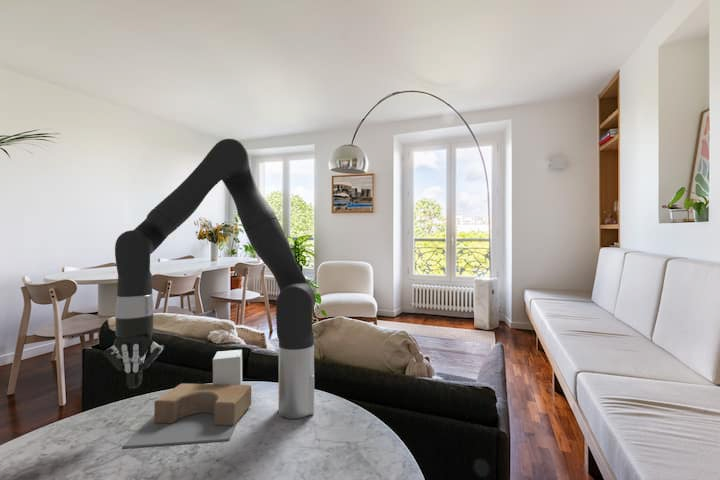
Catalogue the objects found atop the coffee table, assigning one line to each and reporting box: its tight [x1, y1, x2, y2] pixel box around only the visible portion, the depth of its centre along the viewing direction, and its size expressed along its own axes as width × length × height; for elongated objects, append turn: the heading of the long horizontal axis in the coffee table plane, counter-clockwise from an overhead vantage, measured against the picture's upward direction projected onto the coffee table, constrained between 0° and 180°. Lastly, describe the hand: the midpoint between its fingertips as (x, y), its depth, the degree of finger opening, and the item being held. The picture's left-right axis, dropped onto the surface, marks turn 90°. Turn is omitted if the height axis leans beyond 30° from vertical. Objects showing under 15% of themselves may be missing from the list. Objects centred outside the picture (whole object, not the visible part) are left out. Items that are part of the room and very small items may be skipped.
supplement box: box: [212, 349, 243, 385], centre depth 96 cm, size 7×7×13 cm
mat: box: [122, 413, 240, 449], centre depth 81 cm, size 22×16×1 cm
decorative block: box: [153, 382, 252, 426], centre depth 86 cm, size 11×6×20 cm
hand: (134, 386), depth 80 cm, fingers closed
